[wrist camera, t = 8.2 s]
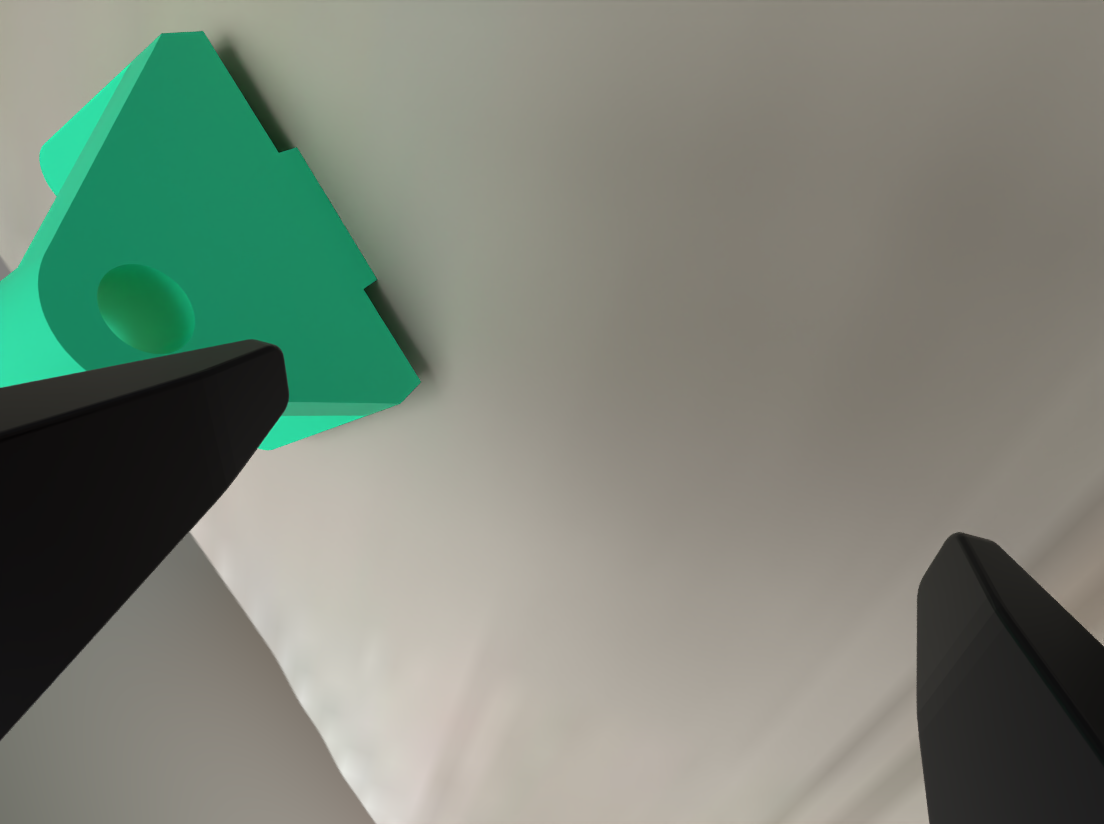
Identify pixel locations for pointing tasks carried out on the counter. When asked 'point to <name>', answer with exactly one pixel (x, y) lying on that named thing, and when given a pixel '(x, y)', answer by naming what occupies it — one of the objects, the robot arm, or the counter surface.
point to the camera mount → (195, 248)
